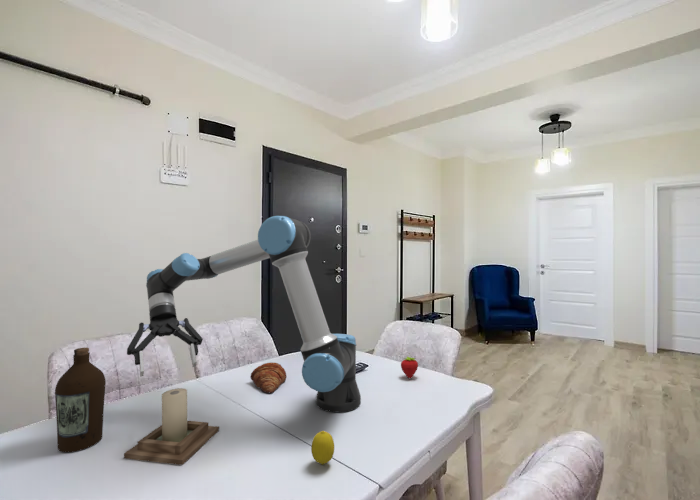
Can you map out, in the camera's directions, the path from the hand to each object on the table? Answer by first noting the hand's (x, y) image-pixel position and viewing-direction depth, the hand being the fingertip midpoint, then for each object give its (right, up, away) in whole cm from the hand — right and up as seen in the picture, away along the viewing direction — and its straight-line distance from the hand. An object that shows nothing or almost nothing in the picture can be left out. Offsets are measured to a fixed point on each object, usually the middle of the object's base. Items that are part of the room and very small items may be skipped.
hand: (169, 369), depth 99 cm
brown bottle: (-19, -17, -8) cm, 27 cm away
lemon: (+46, -17, -17) cm, 52 cm away
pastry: (+21, -18, +34) cm, 44 cm away
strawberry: (+77, -18, +40) cm, 88 cm away
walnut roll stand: (+6, -17, -8) cm, 20 cm away
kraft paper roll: (+6, -15, -8) cm, 18 cm away
